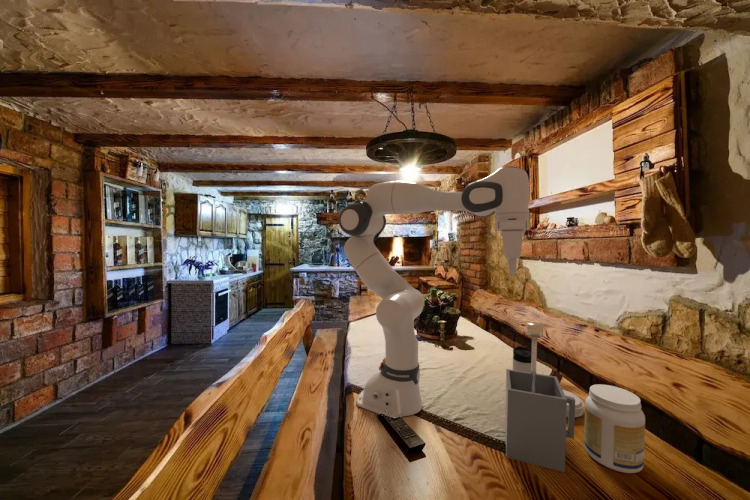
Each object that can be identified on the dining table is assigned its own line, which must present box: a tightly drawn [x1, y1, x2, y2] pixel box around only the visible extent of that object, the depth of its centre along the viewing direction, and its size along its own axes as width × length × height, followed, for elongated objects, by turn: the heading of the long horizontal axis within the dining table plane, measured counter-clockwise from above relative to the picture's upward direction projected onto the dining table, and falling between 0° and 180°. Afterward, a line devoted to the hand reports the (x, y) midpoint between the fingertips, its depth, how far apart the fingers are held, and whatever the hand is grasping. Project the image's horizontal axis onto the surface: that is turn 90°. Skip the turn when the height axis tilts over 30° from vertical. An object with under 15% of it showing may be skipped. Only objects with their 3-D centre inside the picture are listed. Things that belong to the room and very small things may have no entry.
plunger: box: [525, 321, 544, 393], centre depth 80 cm, size 10×10×22 cm
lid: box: [562, 389, 585, 418], centre depth 100 cm, size 13×13×5 cm
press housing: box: [504, 368, 576, 473], centre depth 80 cm, size 16×13×18 cm
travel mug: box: [512, 345, 532, 373], centre depth 100 cm, size 6×7×20 cm
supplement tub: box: [583, 383, 646, 474], centre depth 77 cm, size 12×12×17 cm
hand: (512, 272), depth 86 cm, fingers open, 8 cm apart
